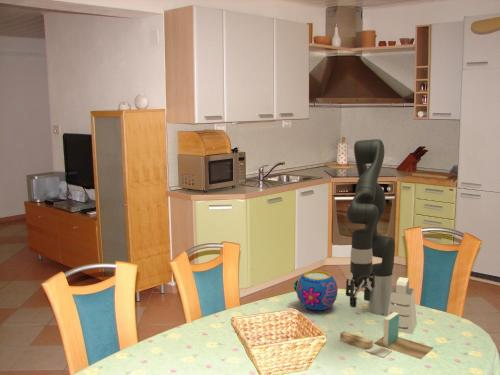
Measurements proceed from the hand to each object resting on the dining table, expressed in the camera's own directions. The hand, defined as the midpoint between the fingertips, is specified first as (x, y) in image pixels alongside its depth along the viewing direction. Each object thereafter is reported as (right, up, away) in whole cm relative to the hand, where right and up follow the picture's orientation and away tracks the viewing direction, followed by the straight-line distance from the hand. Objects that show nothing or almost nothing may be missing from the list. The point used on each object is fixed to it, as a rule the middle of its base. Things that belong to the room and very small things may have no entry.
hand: (360, 303), depth 188 cm
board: (+16, -17, +3) cm, 24 cm away
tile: (+12, -15, +6) cm, 21 cm away
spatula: (+2, -16, +2) cm, 17 cm away
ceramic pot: (-10, -11, +40) cm, 43 cm away
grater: (+20, -14, +19) cm, 31 cm away
